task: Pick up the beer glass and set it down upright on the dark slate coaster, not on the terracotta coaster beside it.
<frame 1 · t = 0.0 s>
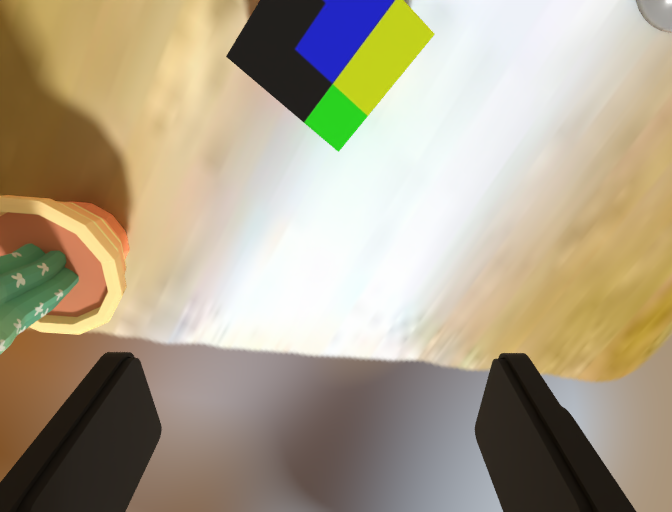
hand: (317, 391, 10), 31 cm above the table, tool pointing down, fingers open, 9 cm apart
puzzle toy: (330, 50, 34), on the table
potted cactus: (90, 237, 42), on the table
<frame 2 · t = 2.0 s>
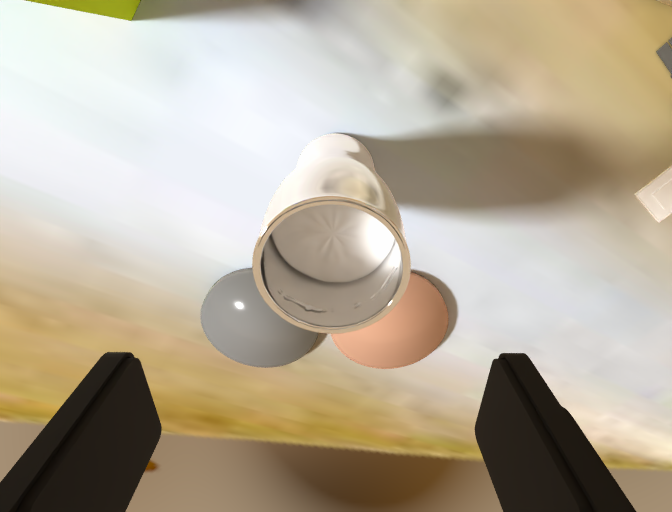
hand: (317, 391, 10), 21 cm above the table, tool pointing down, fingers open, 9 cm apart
beer glass: (335, 172, 28), on the table
terracotta coaster: (387, 318, 35), on the table
slate coaster: (262, 317, 35), on the table
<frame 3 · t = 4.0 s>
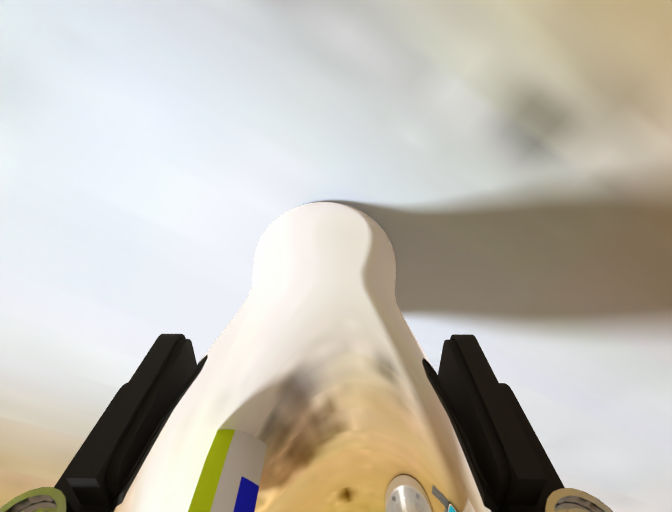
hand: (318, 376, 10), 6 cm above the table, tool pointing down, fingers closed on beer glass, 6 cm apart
beer glass: (325, 264, 16), on the table, touching gripper
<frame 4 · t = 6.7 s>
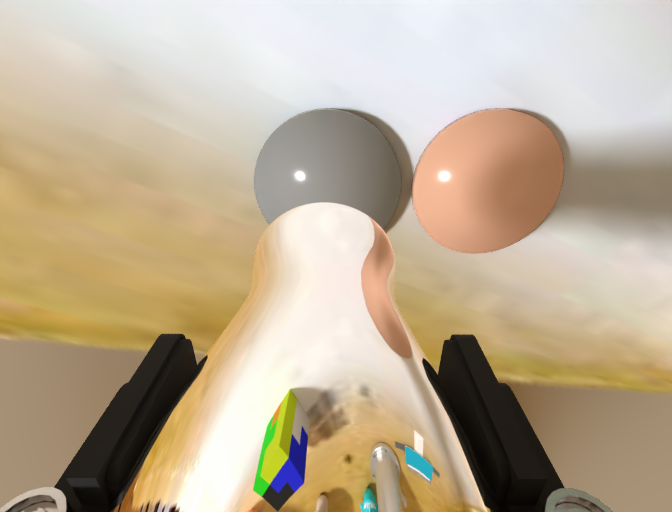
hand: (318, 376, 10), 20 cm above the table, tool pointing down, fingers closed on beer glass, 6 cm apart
beer glass: (325, 264, 16), point 14 cm above the table, touching gripper
terracotta coaster: (482, 184, 28), on the table
slate coaster: (327, 184, 28), on the table
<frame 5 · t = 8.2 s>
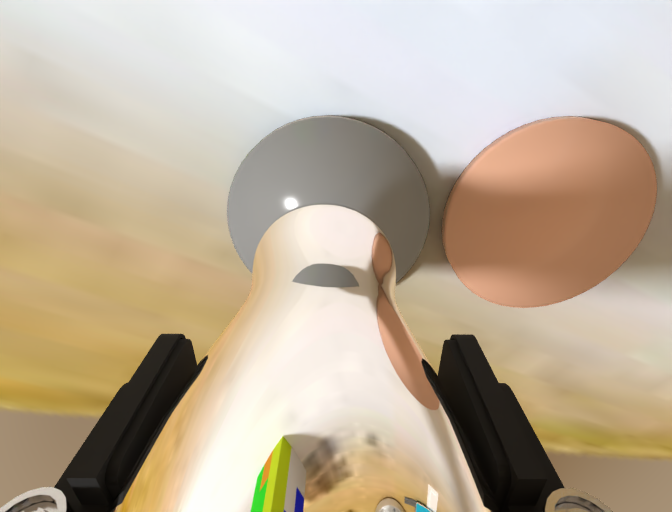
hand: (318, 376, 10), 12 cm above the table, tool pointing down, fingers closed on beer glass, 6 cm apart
beer glass: (325, 265, 16), point 5 cm above the table, touching gripper
terracotta coaster: (538, 218, 21), on the table
slate coaster: (328, 217, 21), on the table
when the fingers open (9 cm above the table, at t = 9.4 s): beer glass drops 1 cm, resting on slate coaster.
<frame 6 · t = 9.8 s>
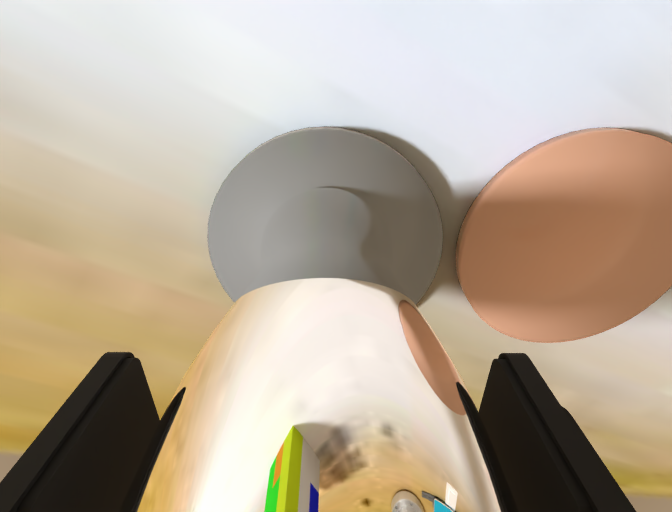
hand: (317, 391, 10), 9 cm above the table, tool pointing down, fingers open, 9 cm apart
beer glass: (327, 247, 17), point 1 cm above the table, touching slate coaster
terracotta coaster: (567, 243, 18), on the table
slate coaster: (325, 242, 18), on the table
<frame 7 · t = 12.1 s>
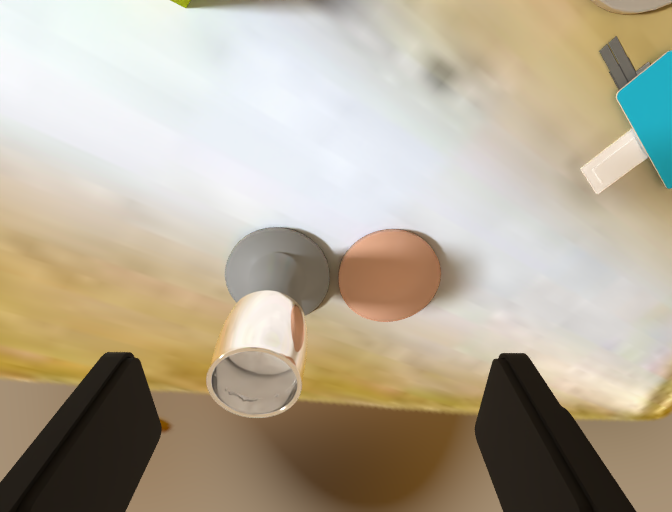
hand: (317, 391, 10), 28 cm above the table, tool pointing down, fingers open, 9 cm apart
beer glass: (278, 276, 39), point 1 cm above the table, touching slate coaster
terracotta coaster: (388, 275, 40), on the table
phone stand: (639, 136, 35), on the table
slate coaster: (278, 274, 40), on the table
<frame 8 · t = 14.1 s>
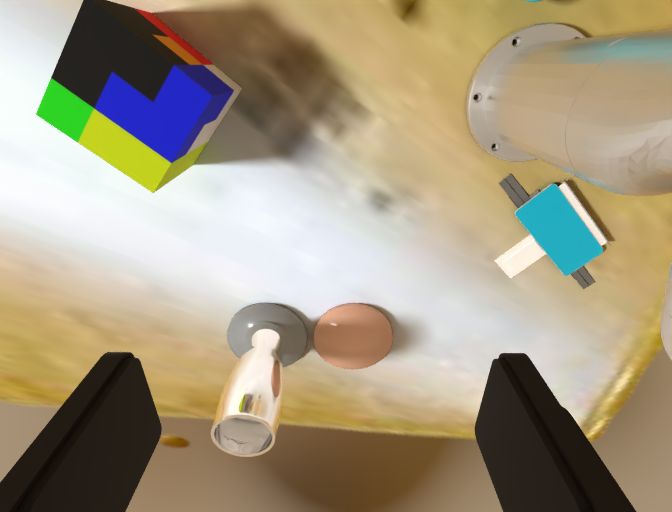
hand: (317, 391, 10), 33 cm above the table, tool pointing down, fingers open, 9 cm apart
puzzle toy: (174, 95, 37), on the table
beer glass: (267, 337, 51), point 1 cm above the table, touching slate coaster
terracotta coaster: (353, 335, 51), on the table
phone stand: (541, 236, 45), on the table
slate coaster: (268, 335, 51), on the table
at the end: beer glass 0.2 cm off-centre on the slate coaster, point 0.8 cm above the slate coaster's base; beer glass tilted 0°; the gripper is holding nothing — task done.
